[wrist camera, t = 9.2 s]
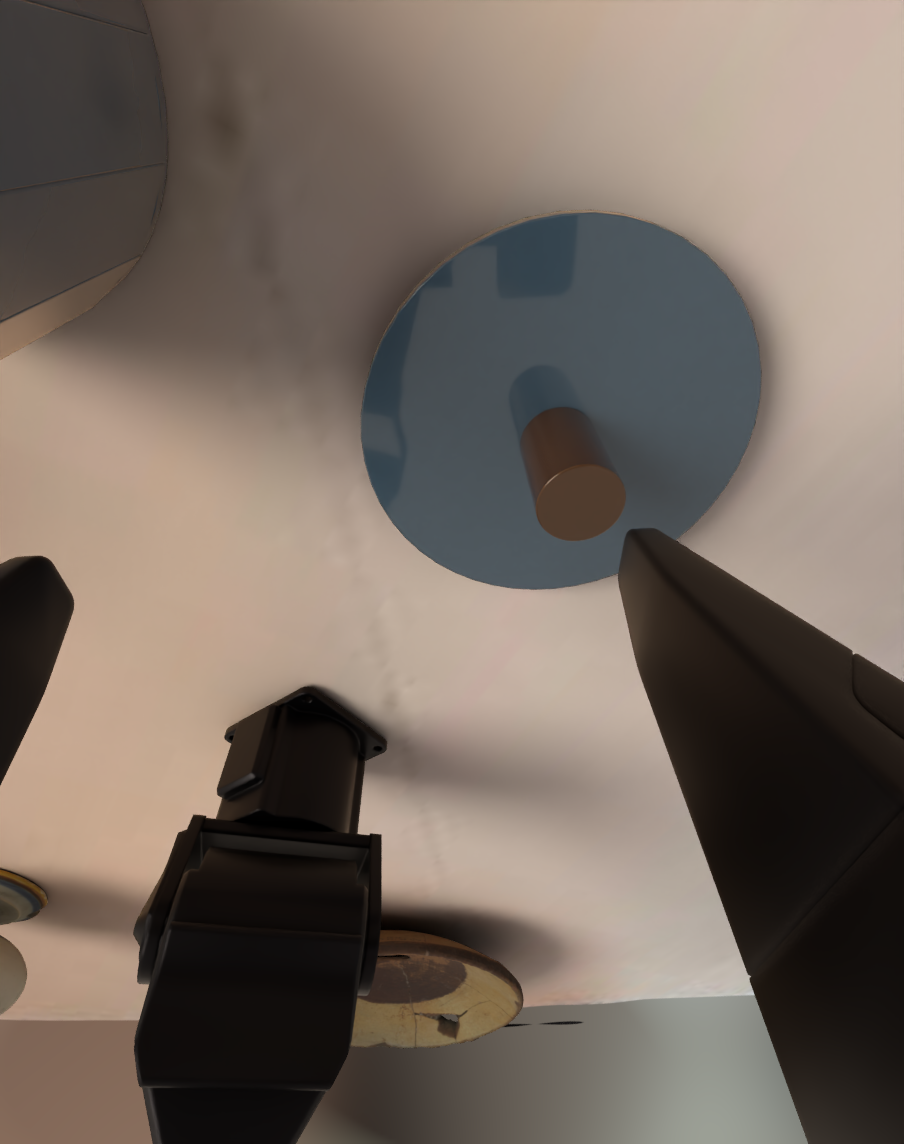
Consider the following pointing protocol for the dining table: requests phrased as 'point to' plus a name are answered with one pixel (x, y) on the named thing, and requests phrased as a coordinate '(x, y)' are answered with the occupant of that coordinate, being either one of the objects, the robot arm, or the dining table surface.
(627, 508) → the lid
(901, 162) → the dining table surface
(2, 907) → the apothecary jar
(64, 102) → the pot
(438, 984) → the oil lamp
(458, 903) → the dining table surface
